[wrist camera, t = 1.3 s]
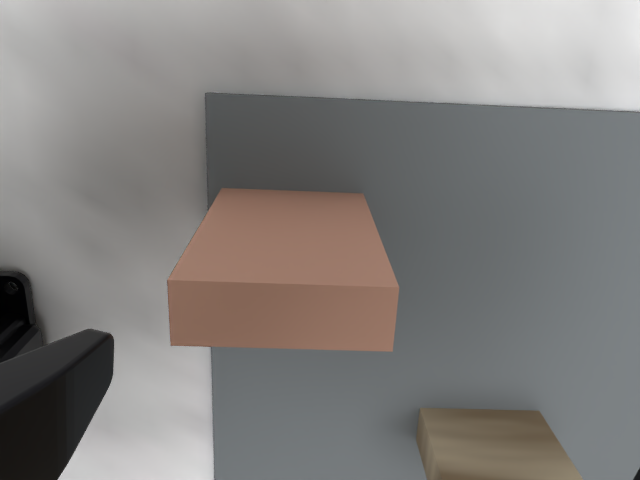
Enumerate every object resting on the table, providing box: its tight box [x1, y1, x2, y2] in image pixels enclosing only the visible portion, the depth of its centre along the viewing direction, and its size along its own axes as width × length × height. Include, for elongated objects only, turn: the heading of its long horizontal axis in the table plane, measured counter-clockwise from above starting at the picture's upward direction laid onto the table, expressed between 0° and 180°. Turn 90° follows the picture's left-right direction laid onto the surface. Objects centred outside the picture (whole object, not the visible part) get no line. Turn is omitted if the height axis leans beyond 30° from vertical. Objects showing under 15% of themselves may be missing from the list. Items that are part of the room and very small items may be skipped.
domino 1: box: [167, 188, 399, 352], centre depth 16 cm, size 2×5×8 cm, turn 88°
